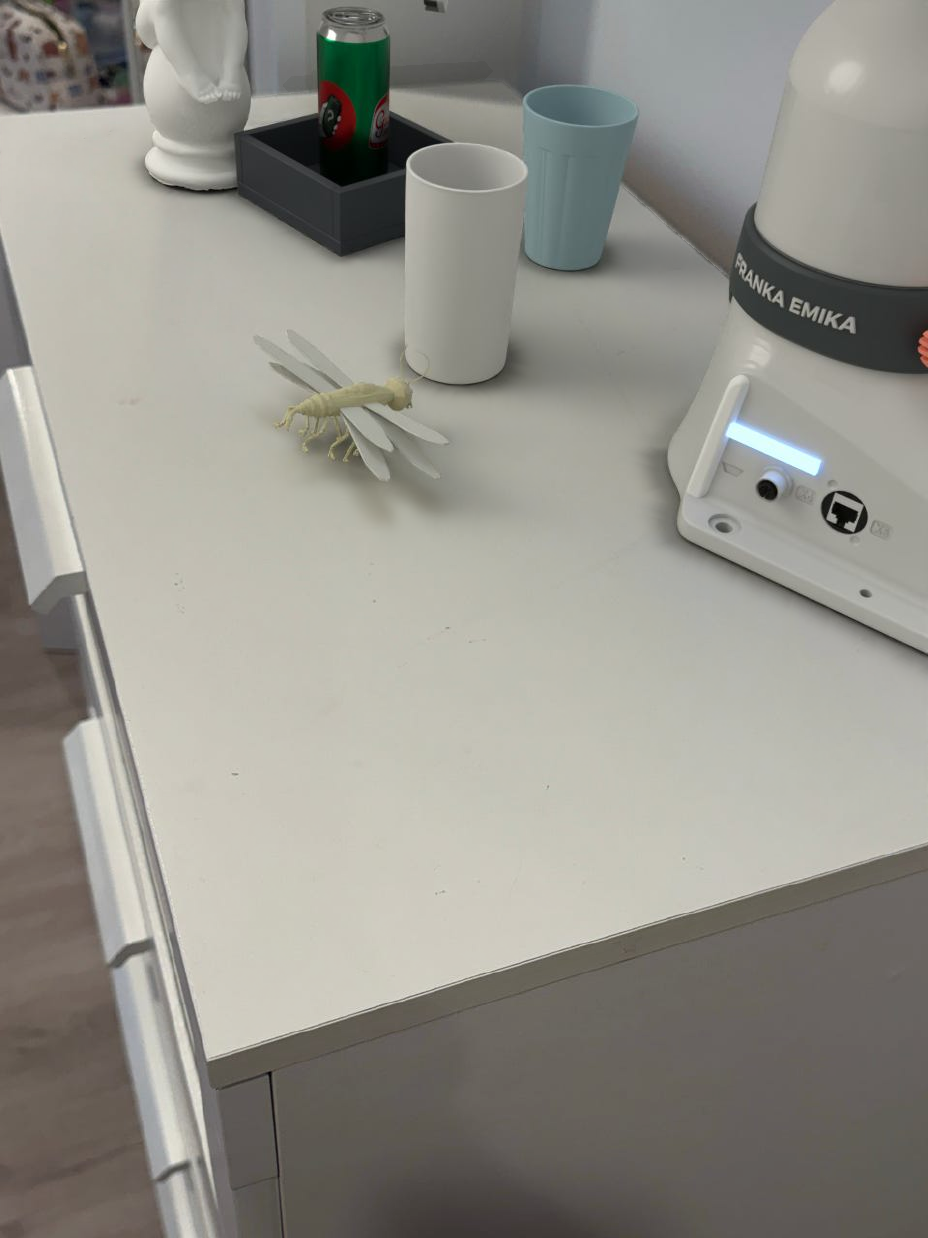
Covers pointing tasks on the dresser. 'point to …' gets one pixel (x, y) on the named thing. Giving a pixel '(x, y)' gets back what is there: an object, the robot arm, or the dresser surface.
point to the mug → (461, 258)
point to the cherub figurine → (195, 89)
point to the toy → (353, 407)
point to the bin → (327, 183)
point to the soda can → (353, 94)
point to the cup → (573, 170)
